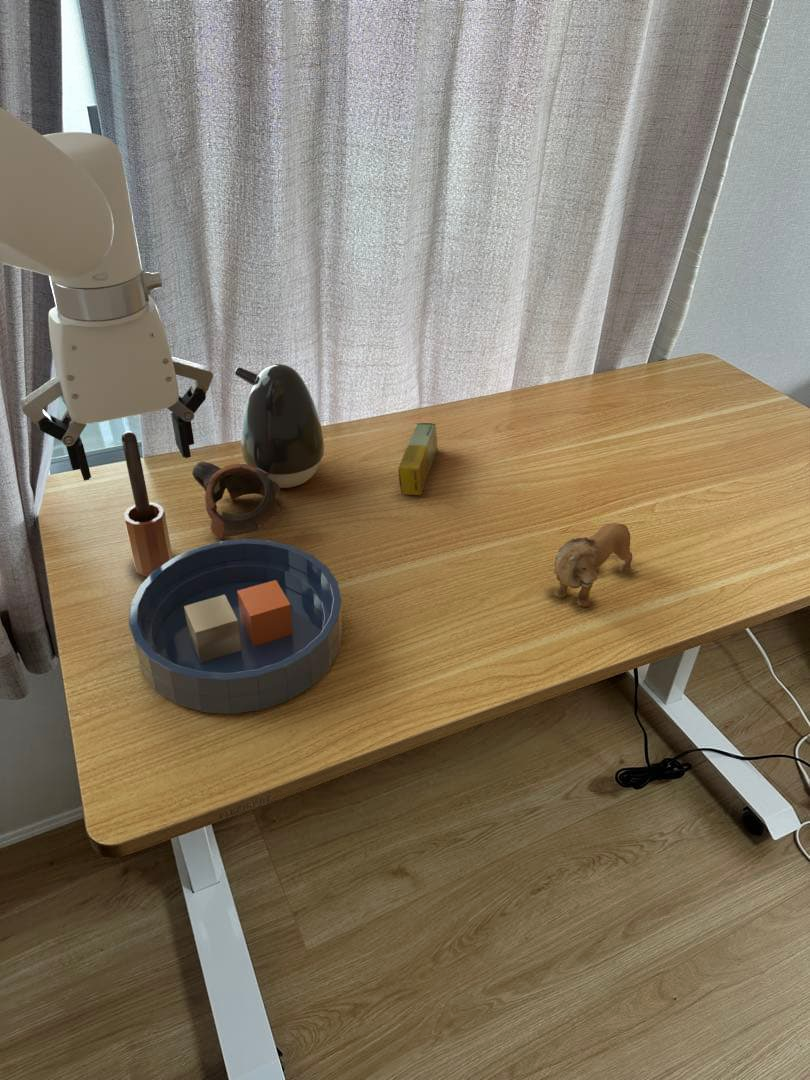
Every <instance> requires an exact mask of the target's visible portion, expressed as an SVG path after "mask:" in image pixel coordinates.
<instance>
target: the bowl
mask: <svg viewBox="0 0 810 1080" xmlns="http://www.w3.org/2000/svg"><path fill="white" fill-rule="evenodd" d="M274 580H277V582H278V584H279V586H280V587H281V589H282V591H283V592H284V594H285V596H286V598H287V599H288V601H289V603H290V605H291V620H292V635H289V636H286V637H283V638H280V639H276V640H273V641H270V642H267V643H264V644H260V645H257V646H253V644H252V642H251V640H250V638H249V636H248V634H247V632H246V630H245V628H244V626H243V624H242V622H241V618H240V610H239V602H238V594H237V591H239V590H242V589H246V588H249V587H253V586H256V585H260V584H263V583H267V582H270V581H274ZM222 595H225V596H226V598H227V600H228V602H229V604H230V606H231V608H232V610H233V612H234V614H235V616H236V618H237V620H238V627H239V635H240V643H241V651H238V652H235V653H232V654H228V655H225V656H222V657H219V658H216V659H212V660H209V661H206V662H203V663H200V661H199V659H198V656H197V654H196V651H195V649H194V647H193V644H192V642H191V639H190V637H189V632H188V627H187V621H186V616H185V610H184V606H186V605H190V604H193V603H197V602H200V601H204V600H207V599H211V598H214V597H218V596H222ZM342 603H343V602H342V595H341V590H340V586H339V582H338V581H337V579H336V578H335V576H334V575H333V573H332V571H331V570H330V568H329V567H328V566H327V565H326V564H325V563H323V562H322V561H321V560H320V559H318V558H317V557H316V556H314V555H313V554H311V553H309V552H307V551H304V550H303V549H300V548H299V547H297V546H295V545H291V544H288V543H283V542H280V541H279V542H278V541H274V540H271V539H258V538H257V539H255V538H241V539H231V540H221V541H216V542H212V543H208V544H204V545H200V546H196V547H194V548H192V549H189V550H187V551H185V552H182V553H180V554H178V555H176V556H173V558H172V559H170V560H169V561H167V562H166V563H165V564H163V565H162V566H160V567H159V568H157V569H156V570H154V571H153V572H152V573H151V574H150V575H149V576H148V577H146V579H145V580H144V581H142V582H141V584H140V585H139V586H138V588H137V590H136V592H135V594H134V596H133V599H132V600H131V602H130V605H129V612H128V613H129V615H128V628H129V630H130V631H129V632H130V634H131V635H130V636H131V641H132V644H133V649H134V653H135V657H136V660H137V663H138V666H139V669H140V671H141V675H142V677H143V678H144V679H145V680H146V681H147V683H148V684H149V685H150V686H151V687H152V688H153V690H154V691H155V692H156V693H158V694H159V695H161V696H162V697H165V698H166V699H167V700H169V701H171V702H173V703H174V704H176V705H178V706H182V707H185V708H188V709H191V710H195V711H198V712H203V713H211V714H212V713H214V714H228V715H232V714H242V713H247V712H248V713H249V712H255V711H261V710H265V709H268V708H271V707H273V706H276V705H279V704H282V703H286V702H288V701H290V700H292V699H293V698H295V697H298V696H299V695H300V694H302V693H303V692H305V691H307V690H308V689H310V688H312V687H313V686H314V685H315V684H316V683H317V682H318V681H319V680H320V679H321V678H322V677H323V676H324V675H325V674H327V672H328V671H330V668H331V667H332V665H333V663H334V661H335V659H336V657H337V656H338V654H339V652H340V650H341V649H340V648H341V643H342V636H343V604H342Z"/></svg>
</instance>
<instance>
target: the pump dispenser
mask: <svg viewBox="0 0 810 1080" xmlns="http://www.w3.org/2000/svg"><path fill="white" fill-rule="evenodd" d="M234 375H235V376H236V377H238V378H240V380H243V381H245V382H246V383H248V384H249V385H251V388H250V391H249V394H248V397H247V400H246V403H245V407H244V412H243V416H242V417H243V418H242V422H241V423H242V425H241V435H240V436H241V438H240V439H241V441H240V448H241V449H240V451H241V457H242V459H243V461H244V462H245V464H247V465H251V466H254V467H256V468H259V469H262V470H264V471H265V472H267V473H268V474H269V476H267V477H268V478H270V479H271V480H273V481H274V482H275V483H277V484H278V485H279V488H280V489H285V488H286V489H287V488H293V487H297V486H300V485H302V484H304V483H306V482H307V481H309V480H310V479H311V478H312V477H313V476H314V475H315V474H316V472H317V471H318V469H319V467H320V464H321V461H322V459H323V457H324V455H325V441H324V434H323V429H322V423H321V420H320V416H319V413H318V410H317V406H316V404H315V402H314V399H313V397H312V394H311V392H310V390H309V388H308V386H307V384H306V383H305V381H304V379H303V378H302V377H301V375H300V374H299V372H297V370H295V368H293V367H291V366H290V365H286V364H283V363H275V364H270V365H268V366H267V367H264V368H263V369H262V370H261V371H260V372H259V373H258V374H257V373H255V372H252V371H249V369H248V370H247V369H246V368H243V367H240V366H238V367H236V369H235V370H234Z"/></svg>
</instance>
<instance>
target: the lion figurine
mask: <svg viewBox="0 0 810 1080" xmlns="http://www.w3.org/2000/svg"><path fill="white" fill-rule="evenodd" d="M611 554H615V555H616V557H618V558H619V560H621V561H624V562H623V563H622V564H620V566H619V571H620V572H621V573H623V574H628V573H630V571H631V567H632V562H633V553H632V552H631V532H630V531H629V528H628V527H627V525H625V524H623V523H618V522H610V523H606V524H604V525H602V526H601V527H600V528H599V529H598V530H597V531H596V532H595V533H593V534H592V535H590V536H589V537H586V536H585V537H576V538H572V539H570V540H568V541H566V542H565V543H564V544H563V545H562V546H560V548H559V549H558V553H557V554H556V556H555V560H554V565H553V567H554V569H553V572H554V573H553V574H555V576H556V580H557V581H558V582H559V587H558V588H555V589H554V591H553V592H554V593H553V594H554V596H555V597H556V598H558V599H563V598H564V597H566V595H567V594H568V588H570V589H580V590H579V593H578V594H577V598H578V599H577V600H576V603H577V605H578V606H579V607H582V608H586V607H587V608H588V607H589V606H590V601H589V599H590V591H591V589H592V588H593V585H594V582H596V581H597V580H598V579H599V576H598V574H597V573H596V572H597V570H598V569H600V567H602V565H603V564H605V563H606V562H607V561H608V559H609V558H610V556H611Z"/></svg>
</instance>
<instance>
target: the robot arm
mask: <svg viewBox="0 0 810 1080" xmlns="http://www.w3.org/2000/svg"><path fill="white" fill-rule="evenodd" d="M125 167H126V166H125V163H124V159H123V155H122V153H121V149H119V147H118V146H117V144H116V143H115V141H113V140H112V139H110V138H109V137H106V136H104V135H101V134H97V133H92V132H82V131H81V132H80V131H66V132H64V131H63V132H55V133H48V134H41V133H39V132H38V131H37V130H35V128H32V126H30V125H28V124H27V122H24V121H23V120H21V119H19V118H18V117H16V116H15V115H14V114H12V113H10V112H9V111H7V110H5V109H4V108H3V107H0V265H5V266H9V267H13V268H18V269H22V270H26V271H30V272H34V273H37V274H40V275H44V276H48V278H49V282H50V283H49V284H50V287H51V290H52V295H53V298H54V303H55V306H54V307H52V308H50V310H49V311H48V331H49V333H48V334H49V341H50V349H51V354H52V359H53V365H54V369H55V376H54V377H53V378H51V379H50V380H48V381H47V382H45V383H43V385H41V386H40V387H39V388H37V389H35V390H34V391H32V392H31V393H29V394H28V395H27V396H25V397H24V398H23V399H21V401H20V407H21V411H22V413H23V414H24V415H25V416H26V417H27V418H28V419H29V420H30V421H31V422H33V423H34V424H35V425H36V426H37V427H38V428H39V429H40V431H41V432H43V433H44V434H46V435H48V436H50V437H53V438H54V439H56V440H58V441H60V442H61V443H62V444H63V445H64V446H65V448H66V451H67V456H68V459H69V462H70V466H71V470H72V471H78V470H79V471H80V473H81V476H82V478H83V481H84V482H85V481H90V480H91V479H92V475H91V471H90V467H89V462H88V458H87V455H86V450H85V447H84V443H83V441H82V438H81V434H82V433H83V431H84V430H85V428H86V427H87V426H88V425H91V424H96V423H104V422H107V421H114V420H119V419H124V418H129V417H134V416H138V415H139V416H140V415H144V414H150V413H154V412H159V411H162V410H166V409H167V410H169V412H171V413H170V415H171V416H170V418H171V422H172V428H173V434H174V440H175V445H176V447H177V449H178V451H179V453H180V455H181V456H182V458H185V459H189V458H191V457H192V455H191V449H190V448H191V447H190V446H194V445H195V438H194V431H193V425H192V421H193V420H194V419H195V413H196V412H197V411H198V409H199V408H200V407H201V406H202V404H203V403H204V402H205V400H206V399H207V395H206V394H207V392H208V391H209V389H210V386H211V384H212V380H213V378H214V374H213V372H212V371H211V369H210V367H209V366H206V365H203V364H199V363H197V362H192V361H189V360H185V359H182V358H178V357H174V356H172V353H171V348H170V344H169V340H168V337H167V334H166V331H165V326H164V324H163V321H162V317H161V314H160V312H159V309H158V307H157V305H156V302H155V300H154V299H153V297H151V292H154V291H155V290H156V289H162V288H163V282H162V278H161V275H160V273H159V272H150V271H147V272H146V270H145V269H143V267H142V262H141V261H142V260H141V256H140V250H139V244H138V238H137V233H136V227H135V222H134V215H133V209H132V204H131V199H130V197H131V196H130V192H129V186H128V181H127V180H128V179H127V173H126V169H125ZM177 376H180V377H184V378H187V379H191V380H193V381H192V385H191V386H190V387H189V388H188V389H187V390H186V392H185V393H184V395H183V396H181V395H180V391H179V383H178V378H177ZM60 397H61V400H62V401H63V404H64V405H65V408H66V411H65V412H64V414H63V416H62V417H61V419H59V418H57V417H55V416H53V415H51V414H49V413H47V412H46V411H45V410H44V409H45V408H46V407H47V406H48V405H50V404H52V403H53V402H55V400H57V399H58V398H60Z"/></svg>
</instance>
